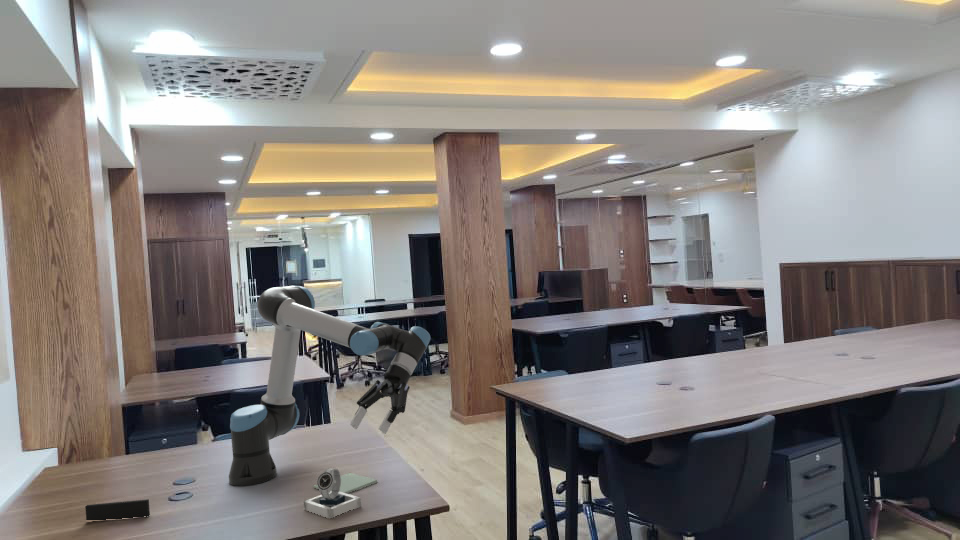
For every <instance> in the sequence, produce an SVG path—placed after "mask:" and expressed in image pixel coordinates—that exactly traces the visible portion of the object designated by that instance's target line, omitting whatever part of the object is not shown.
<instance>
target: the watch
mask: <svg viewBox="0 0 960 540" xmlns="http://www.w3.org/2000/svg"><path fill="white" fill-rule="evenodd" d="M340 476H341V472H340V470H339V469H338V468H326V469H325V470H324V471H322V473H321V474H320V475H319V476H318V479H317V481H316V485H318V487H319V490H318V491H319V493H320V495H322V496H323V498H321V499H320V500H319V502H320V504H321V505H324V506H327V507H330V508H331V507H333V506H336V505H339V504H341V503H344V502H345V496H344V495H337V494H338V492H339V491H340V486H341V477H340ZM331 489H332V490H331ZM331 491H332V492H331ZM330 492H331V494H329V493H330Z"/></svg>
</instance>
